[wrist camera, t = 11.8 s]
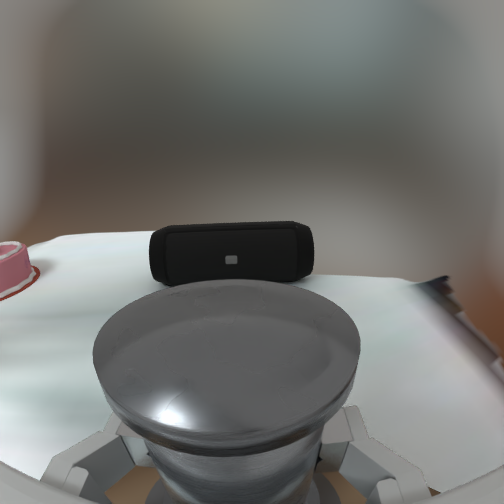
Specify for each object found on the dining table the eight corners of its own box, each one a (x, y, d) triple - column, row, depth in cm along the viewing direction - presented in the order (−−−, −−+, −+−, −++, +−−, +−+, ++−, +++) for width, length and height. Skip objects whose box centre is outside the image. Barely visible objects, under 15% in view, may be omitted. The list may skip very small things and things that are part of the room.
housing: (142, 489, 11) (66, 312, 8) (252, 435, 15) (247, 263, 12) (226, 593, 6) (159, 509, 3) (348, 506, 10) (417, 327, 7)
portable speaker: (152, 296, 47) (144, 234, 44) (164, 273, 56) (159, 221, 53) (314, 289, 48) (316, 227, 45) (301, 268, 58) (302, 215, 55)
